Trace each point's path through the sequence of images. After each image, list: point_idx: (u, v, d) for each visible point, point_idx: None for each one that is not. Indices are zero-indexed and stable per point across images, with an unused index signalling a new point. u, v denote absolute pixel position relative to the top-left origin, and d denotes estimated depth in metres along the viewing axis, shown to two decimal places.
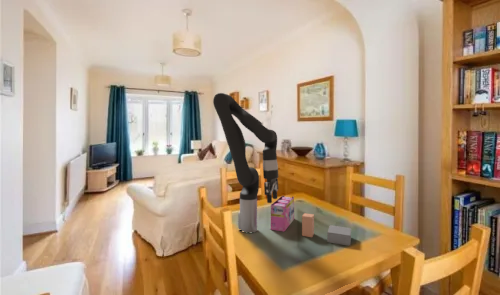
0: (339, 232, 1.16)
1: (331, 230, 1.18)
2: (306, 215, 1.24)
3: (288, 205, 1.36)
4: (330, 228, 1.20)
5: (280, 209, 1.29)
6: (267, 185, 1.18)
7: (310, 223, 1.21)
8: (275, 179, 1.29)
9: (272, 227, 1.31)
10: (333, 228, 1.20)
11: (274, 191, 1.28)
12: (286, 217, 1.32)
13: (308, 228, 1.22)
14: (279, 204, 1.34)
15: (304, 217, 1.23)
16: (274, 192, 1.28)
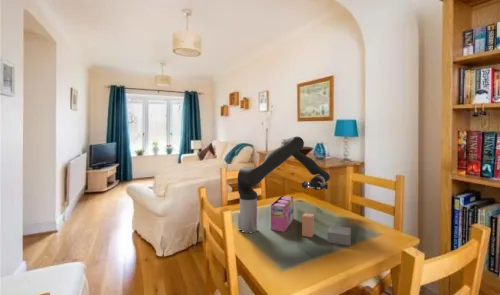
0: (339, 232, 1.16)
1: (332, 230, 1.18)
2: (306, 215, 1.24)
3: (288, 205, 1.36)
4: (330, 228, 1.20)
5: (281, 209, 1.29)
6: (327, 186, 1.40)
7: (310, 223, 1.21)
8: (306, 184, 1.46)
9: (272, 227, 1.31)
10: (333, 228, 1.20)
11: (306, 185, 1.40)
12: (286, 217, 1.32)
13: (308, 228, 1.22)
14: (279, 204, 1.34)
15: (304, 217, 1.22)
16: (306, 185, 1.39)
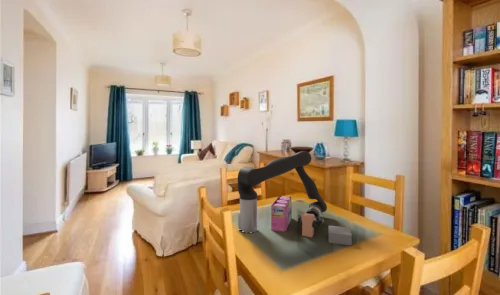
0: (339, 232, 1.15)
1: (332, 230, 1.18)
2: (306, 215, 1.24)
3: (288, 205, 1.36)
4: (330, 228, 1.20)
5: (281, 209, 1.28)
6: (323, 221, 1.27)
7: (310, 223, 1.21)
8: (300, 218, 1.33)
9: (273, 227, 1.30)
10: (333, 229, 1.20)
11: None
12: (286, 217, 1.32)
13: (308, 228, 1.22)
14: (279, 204, 1.33)
15: (304, 217, 1.22)
16: None
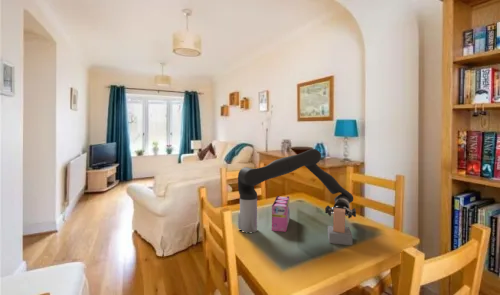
0: (340, 232, 1.15)
1: (332, 230, 1.17)
2: (337, 210, 1.17)
3: (287, 205, 1.36)
4: (330, 229, 1.20)
5: (282, 209, 1.28)
6: None
7: (342, 218, 1.15)
8: (329, 209, 1.28)
9: (273, 228, 1.30)
10: None
11: (331, 211, 1.21)
12: None
13: (340, 223, 1.15)
14: (279, 204, 1.33)
15: (336, 212, 1.16)
16: (331, 212, 1.21)
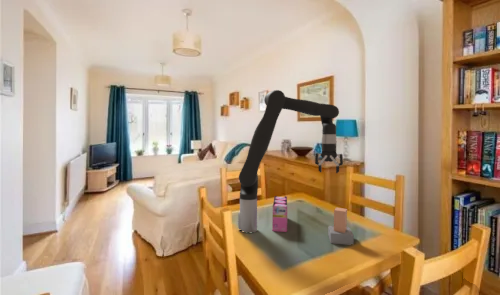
0: (341, 232, 1.15)
1: (333, 230, 1.17)
2: (338, 209, 1.18)
3: None
4: (331, 229, 1.19)
5: (283, 209, 1.28)
6: (342, 156, 1.31)
7: (343, 218, 1.15)
8: (318, 154, 1.36)
9: (274, 228, 1.29)
10: None
11: (321, 165, 1.35)
12: None
13: (341, 222, 1.16)
14: (279, 204, 1.33)
15: (336, 211, 1.16)
16: (321, 166, 1.35)
